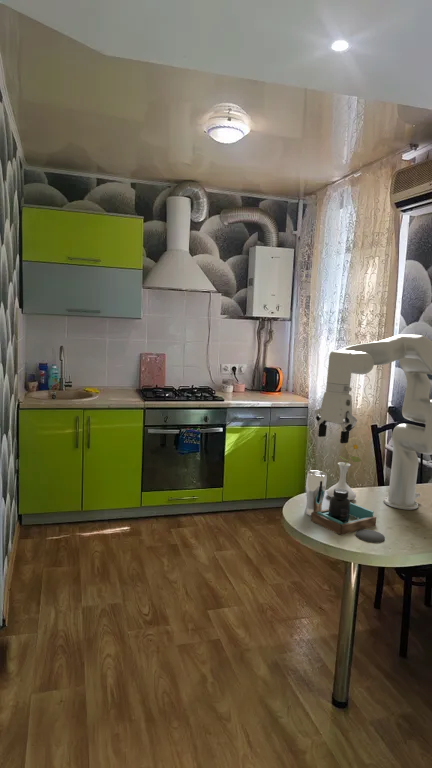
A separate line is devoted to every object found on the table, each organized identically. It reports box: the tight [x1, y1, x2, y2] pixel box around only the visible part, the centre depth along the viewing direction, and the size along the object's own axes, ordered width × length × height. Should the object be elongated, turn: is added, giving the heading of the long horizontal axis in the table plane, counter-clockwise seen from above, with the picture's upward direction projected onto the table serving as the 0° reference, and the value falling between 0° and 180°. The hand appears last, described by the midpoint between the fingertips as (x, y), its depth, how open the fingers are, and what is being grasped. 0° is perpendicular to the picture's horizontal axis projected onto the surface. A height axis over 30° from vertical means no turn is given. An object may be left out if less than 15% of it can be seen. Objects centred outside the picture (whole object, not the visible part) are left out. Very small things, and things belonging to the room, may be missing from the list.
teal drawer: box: [317, 501, 374, 524], centre depth 178 cm, size 16×11×4 cm, turn 126°
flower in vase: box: [326, 436, 366, 501], centre depth 203 cm, size 13×11×25 cm
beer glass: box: [304, 469, 327, 517], centre depth 184 cm, size 7×7×15 cm
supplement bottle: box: [328, 488, 351, 523], centre depth 175 cm, size 7×7×12 cm
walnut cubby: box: [310, 508, 377, 536], centre depth 177 cm, size 18×13×3 cm
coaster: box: [355, 528, 386, 544], centre depth 167 cm, size 9×9×1 cm
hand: (332, 439), depth 173 cm, fingers open, 9 cm apart
